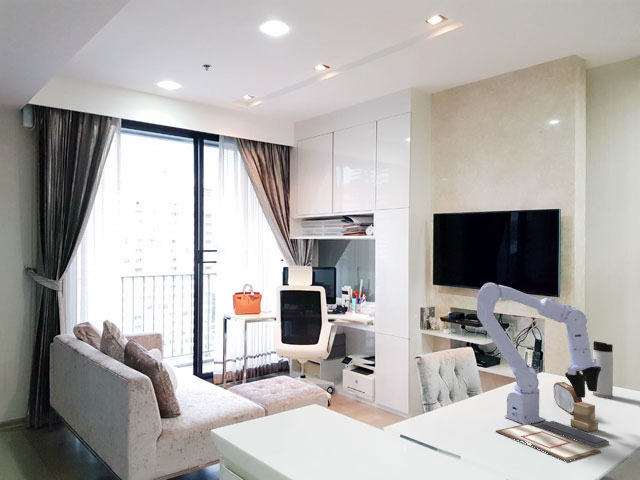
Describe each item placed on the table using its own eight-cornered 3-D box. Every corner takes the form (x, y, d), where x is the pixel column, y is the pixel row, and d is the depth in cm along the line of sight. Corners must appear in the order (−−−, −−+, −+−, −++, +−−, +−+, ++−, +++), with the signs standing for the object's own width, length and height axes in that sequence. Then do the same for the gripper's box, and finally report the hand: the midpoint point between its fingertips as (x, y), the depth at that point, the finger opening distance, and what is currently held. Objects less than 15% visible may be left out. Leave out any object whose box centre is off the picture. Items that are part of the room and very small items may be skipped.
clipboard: (566, 462, 118) (566, 459, 118) (495, 431, 137) (495, 429, 137) (600, 452, 124) (600, 449, 124) (528, 424, 144) (528, 422, 144)
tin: (583, 418, 151) (583, 391, 151) (573, 418, 151) (573, 391, 151) (560, 403, 166) (560, 379, 166) (551, 403, 166) (551, 378, 166)
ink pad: (595, 447, 127) (595, 443, 127) (539, 426, 142) (539, 423, 142) (608, 444, 130) (608, 439, 130) (552, 423, 145) (552, 420, 145)
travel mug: (588, 393, 178) (588, 340, 179) (601, 392, 180) (602, 339, 181) (602, 398, 172) (603, 343, 173) (616, 397, 174) (616, 342, 175)
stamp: (587, 432, 138) (587, 408, 138) (570, 426, 143) (570, 403, 143) (598, 430, 141) (598, 405, 141) (581, 424, 145) (581, 400, 145)
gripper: (581, 353, 137) (589, 401, 136) (604, 344, 145) (611, 389, 144) (557, 352, 142) (565, 398, 141) (580, 343, 151) (587, 387, 150)
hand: (586, 394), depth 143 cm, fingers open, 7 cm apart
